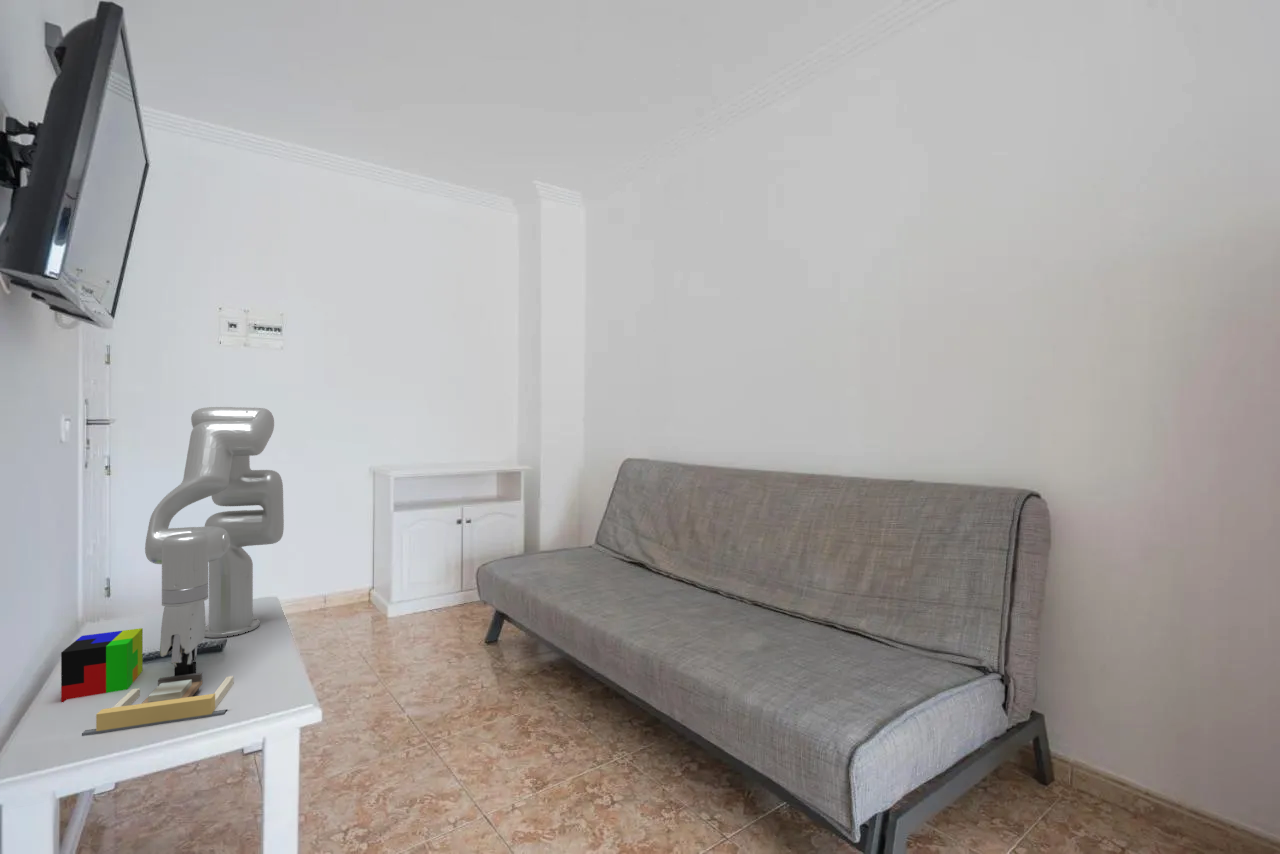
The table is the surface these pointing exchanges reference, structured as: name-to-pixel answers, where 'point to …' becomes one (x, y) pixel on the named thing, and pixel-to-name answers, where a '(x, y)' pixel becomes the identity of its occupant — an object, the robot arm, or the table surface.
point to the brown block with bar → (175, 687)
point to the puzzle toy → (101, 663)
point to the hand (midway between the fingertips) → (185, 682)
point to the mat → (158, 710)
